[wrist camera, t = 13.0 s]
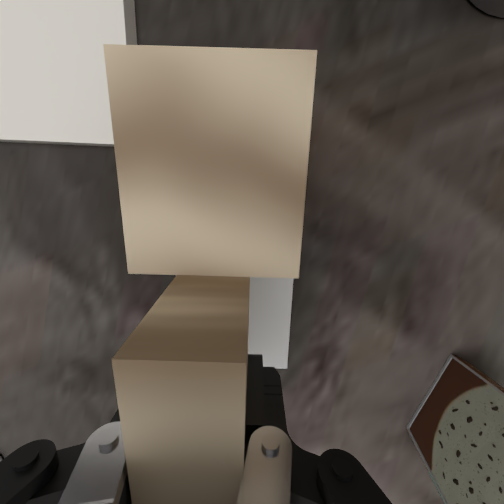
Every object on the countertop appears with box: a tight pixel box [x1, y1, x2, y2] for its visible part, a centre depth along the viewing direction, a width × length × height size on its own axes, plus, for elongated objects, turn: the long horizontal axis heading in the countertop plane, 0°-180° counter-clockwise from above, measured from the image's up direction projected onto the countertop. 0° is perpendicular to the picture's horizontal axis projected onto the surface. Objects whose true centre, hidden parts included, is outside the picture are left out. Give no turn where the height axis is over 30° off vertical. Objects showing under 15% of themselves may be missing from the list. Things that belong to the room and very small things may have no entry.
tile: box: [0, 0, 137, 147], centre depth 18 cm, size 12×2×10 cm
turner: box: [103, 44, 317, 504], centre depth 9 cm, size 20×7×6 cm, turn 178°
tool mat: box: [248, 277, 293, 369], centre depth 22 cm, size 10×23×1 cm, turn 179°
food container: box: [406, 354, 504, 504], centre depth 22 cm, size 12×6×10 cm, turn 163°
